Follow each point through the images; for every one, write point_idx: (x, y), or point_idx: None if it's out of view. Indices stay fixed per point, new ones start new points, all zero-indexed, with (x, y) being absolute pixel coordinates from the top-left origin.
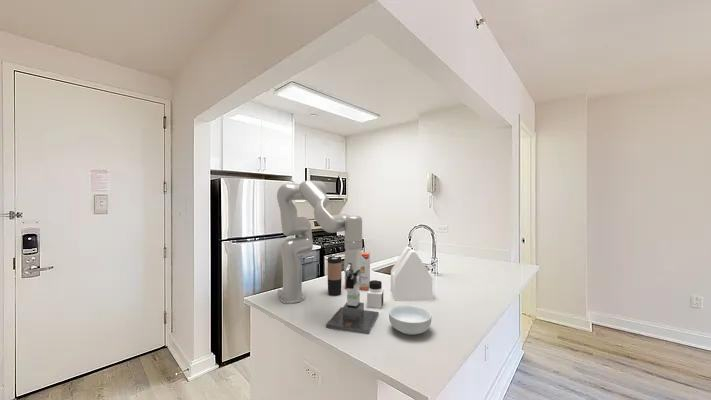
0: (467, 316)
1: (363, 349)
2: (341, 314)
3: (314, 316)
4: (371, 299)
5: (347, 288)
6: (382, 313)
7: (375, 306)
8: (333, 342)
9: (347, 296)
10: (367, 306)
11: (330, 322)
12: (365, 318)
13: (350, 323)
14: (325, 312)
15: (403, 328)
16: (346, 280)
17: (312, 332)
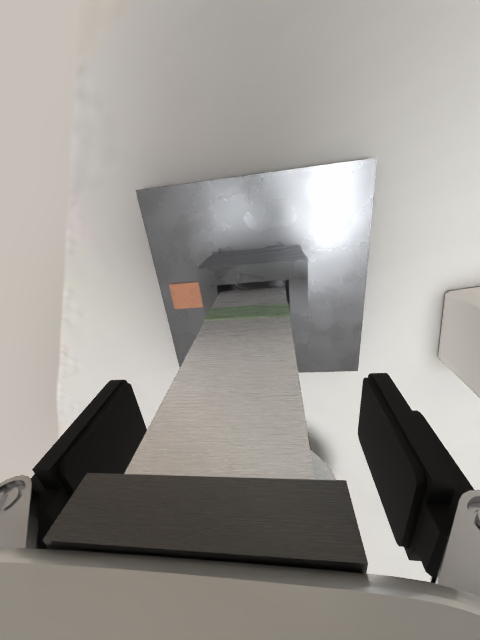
0: (405, 562)
1: (100, 376)
2: (272, 214)
3: (230, 19)
4: (472, 332)
5: (190, 349)
6: (377, 371)
7: (444, 335)
8: (73, 280)
9: (207, 316)
10: (447, 293)
11: (163, 203)
12: None
13: (195, 300)
14: (314, 63)
15: None
16: (56, 448)
17: (75, 149)
